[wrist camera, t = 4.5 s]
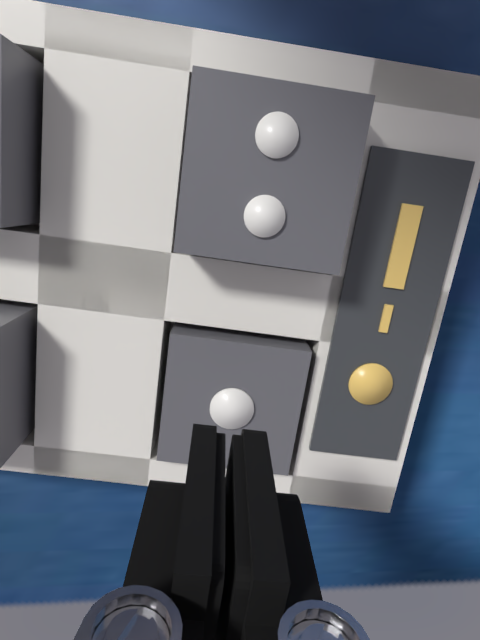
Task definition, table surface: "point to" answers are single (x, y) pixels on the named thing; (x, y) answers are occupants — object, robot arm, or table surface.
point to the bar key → (20, 135)
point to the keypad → (219, 274)
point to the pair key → (270, 170)
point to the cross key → (17, 374)
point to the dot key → (232, 389)
